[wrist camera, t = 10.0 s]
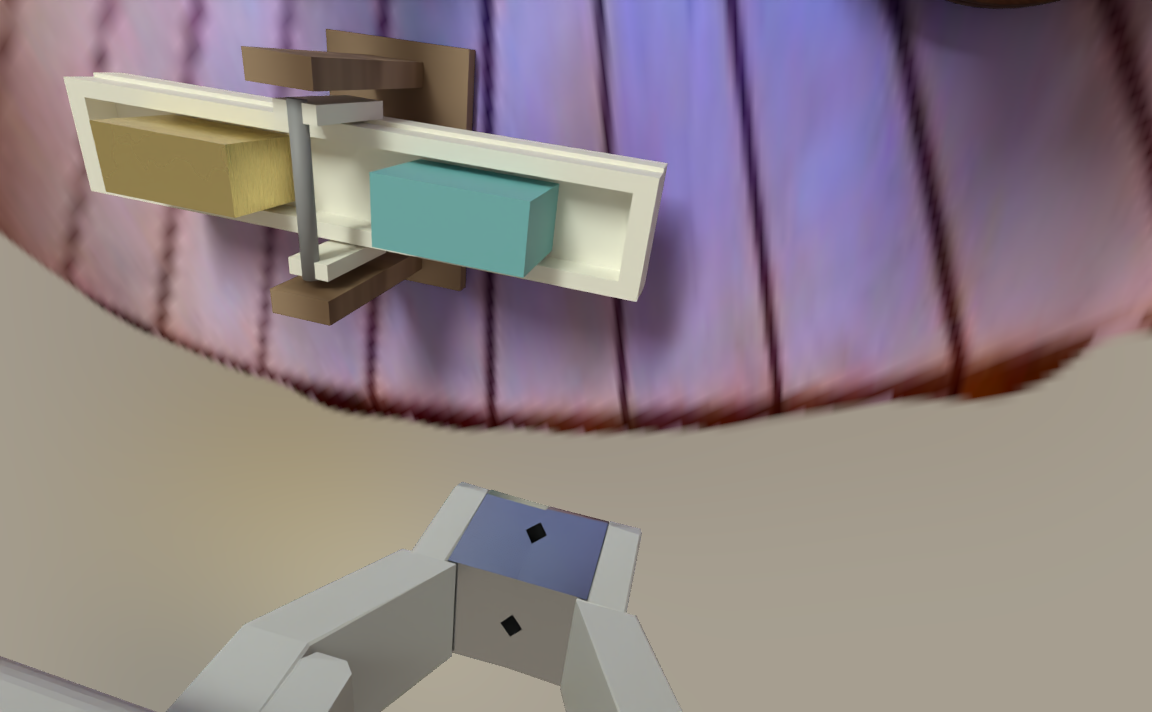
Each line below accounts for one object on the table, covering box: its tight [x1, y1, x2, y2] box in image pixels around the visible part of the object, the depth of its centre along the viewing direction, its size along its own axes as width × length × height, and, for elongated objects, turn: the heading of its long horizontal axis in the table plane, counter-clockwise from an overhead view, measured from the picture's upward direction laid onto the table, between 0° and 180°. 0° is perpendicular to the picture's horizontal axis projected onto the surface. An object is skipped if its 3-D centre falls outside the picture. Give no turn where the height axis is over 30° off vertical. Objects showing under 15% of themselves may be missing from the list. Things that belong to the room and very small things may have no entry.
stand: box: [241, 29, 475, 326], centre depth 29 cm, size 8×13×10 cm, turn 173°
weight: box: [89, 115, 295, 218], centre depth 29 cm, size 7×3×4 cm, turn 83°
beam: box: [63, 73, 668, 302], centre depth 28 cm, size 30×8×6 cm, turn 83°
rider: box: [369, 159, 559, 278], centre depth 26 cm, size 7×3×4 cm, turn 83°
